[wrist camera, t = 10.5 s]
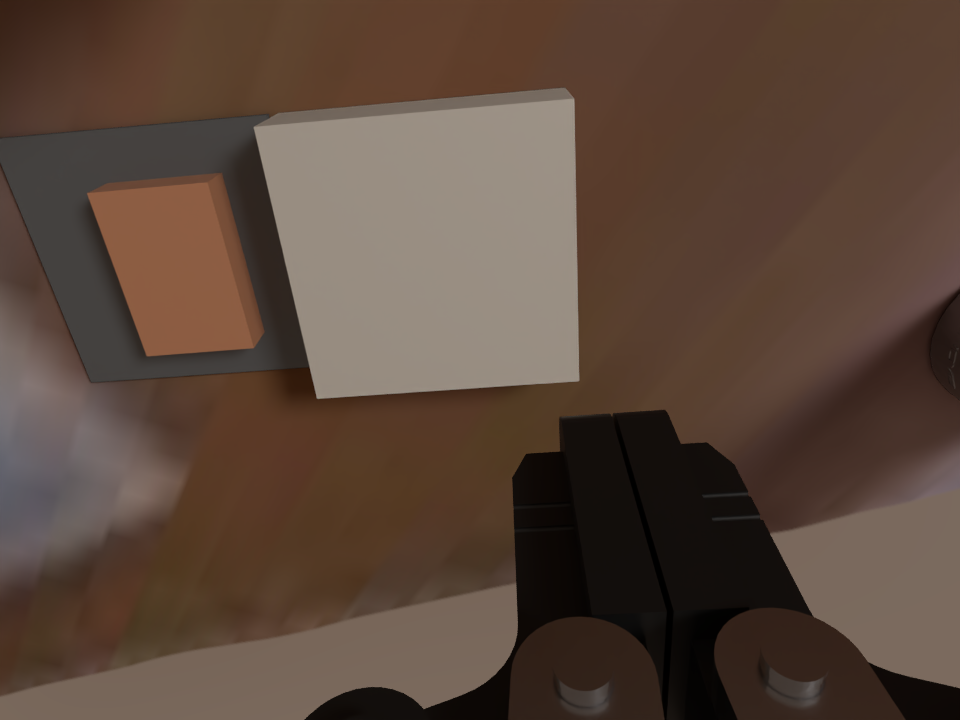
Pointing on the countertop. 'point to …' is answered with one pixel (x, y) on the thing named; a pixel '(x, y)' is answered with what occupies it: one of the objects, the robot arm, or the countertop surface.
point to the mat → (85, 258)
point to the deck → (430, 240)
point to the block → (179, 263)
